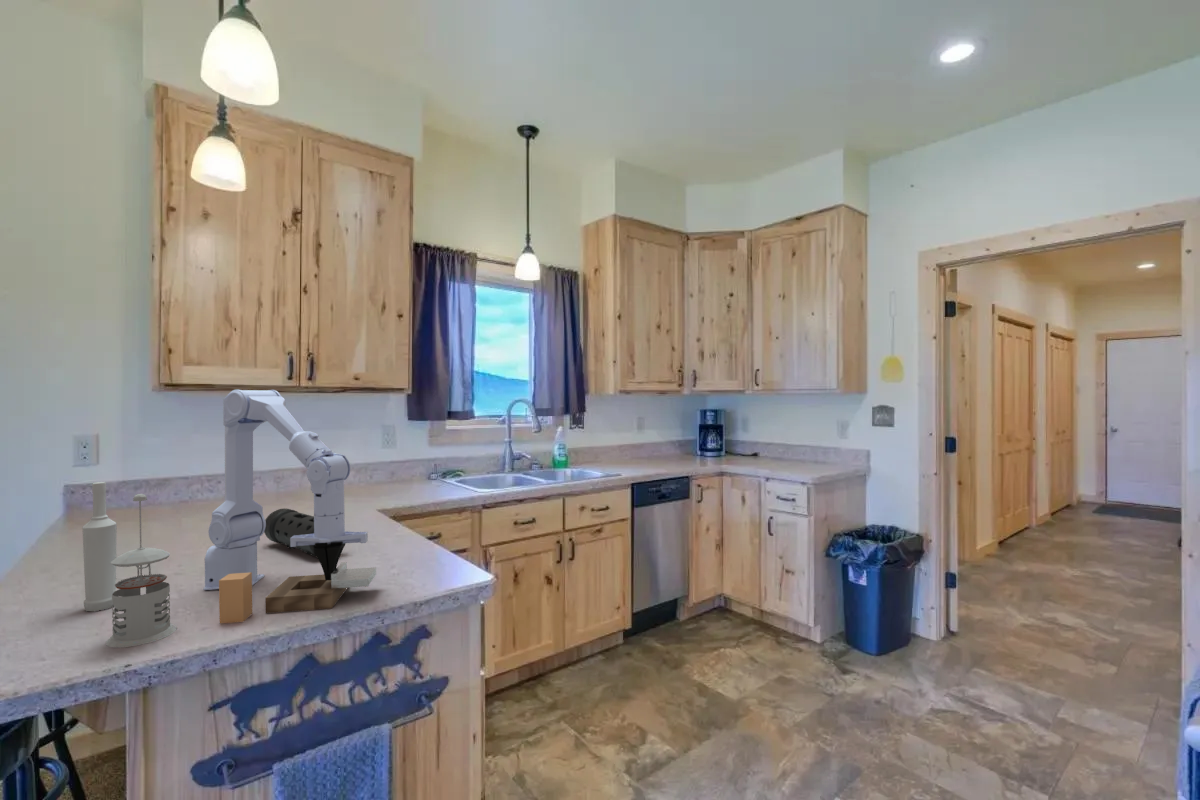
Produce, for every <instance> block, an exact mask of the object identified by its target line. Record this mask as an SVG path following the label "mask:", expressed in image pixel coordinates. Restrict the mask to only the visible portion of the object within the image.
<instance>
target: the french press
mask: <svg viewBox="0 0 1200 800" xmlns="http://www.w3.org/2000/svg"><path fill="white" fill-rule="evenodd" d="M147 500H148V497H147V495H146V494H144V493H138V494H135V495H134V496H133V498H132V501H133V502H138V503H139V505H138V508H139V512H138V513H139V514H138V515H139V547H138V548H136V549H130V550H128V551H126V552H124V553H122V554H120V555H118V556H116V558H115V559H114V560H113V561H111V563H112V564H113V565H114V566H116V567H119V568H121V567H122V568H127V567H135V568H136V569H137V576H136V575H135V576H132V577H127V578H124V579H121V580H120V581H118V582H116V584H115V587H116V591H115V592H114V593H113V594H112V603H113V605H112V608H111V610H112V612H111V613H112V614H111V615H112V616H111V617H112V621H111V622H112V623H111V624H112V634H111V636H110V637H109V638H108V639H107V640H106V641H105V642H106V643H105V644H107V645H106V646H107V647H110V648H128V647H129V648H130V647H136V646H142V645H145V644H150V643H153V642H156V641H158V640H161V639H164V638H168V637H169V636H170V635H172V634H173V633H175V632H176V630H177V629H178V628H177V626H176V625H175V624H173V623H172V622H171V615H170V614H171V608H170V607H171V601H170V597H171V595H170V592H171V589H170V588H171V587H170V583H169V582H166V581H165V580H167V578H168V576H167V575H166V574H162V573H152V572H151V568H152V567H151V564H155V563H158V562H162V561H164V560H167V559H168V558H169V557H170V555H171V553H170V552H169V551H167V550H164V549H162V548H155V547H142V545H143V543H142V502H143V501H147ZM143 565H146V566H143ZM147 568H148V574H144V575H143V569H147ZM142 588H143V589H144V588H145V593H144V594H141V589H142ZM118 612H123V613H118ZM119 619H123V620H120V621H119Z"/></svg>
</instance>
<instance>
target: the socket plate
mask: <svg viewBox="0 0 1200 800" xmlns="http://www.w3.org/2000/svg"><path fill="white" fill-rule="evenodd" d="M345 590H346V591H347V589H346V588H335V589H331V580H325V575H324V573H323V574H312V575H296V576H295V575H294V576H289V577H287V578H286V579H285V580H284V581H282V582H281V583H280V584H279V585H278V586H277V587H276V588H275V589H274V590H272V591H271V592H270V593H269V594H268V595H267V596H266V597H265V605H264V606H265V607H264V608H265V614H274V613H287V612H300V611H301V610H303V611H312V610H313V611H314V610H326V609H327V610H328V609H329V610H330V609H333V608H334V606H335V605H336V604H337V603H338V601H339V600H340V599H341V597H342V596H343V595H342V594H344V593H345V592H346V591H345ZM344 591H345V592H344ZM343 592H344V593H343ZM341 595H342V596H341ZM340 596H341V597H340ZM338 599H339V600H338ZM335 603H336V604H335ZM301 612H302V611H301Z"/></svg>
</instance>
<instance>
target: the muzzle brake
mask: <svg viewBox="0 0 1200 800" xmlns="http://www.w3.org/2000/svg"><path fill="white" fill-rule="evenodd" d="M265 521H266V527H265V531H264V533H263V534H264V535H265V537H266V538H267V539H269V541H271V542H273V543H277V544H279V545H280V544H281V545H285V548H287V547H289V548H288V549H290V548H294V549H297V550H301V552H302V553H306V554H308V555H310V556H312V557H316V555H315V554H314V551H313V549H314V548H315V545H304V546H296V547H290V538H291V537H292V536H294V535H305V534H314V515H313V516H312V515H309V514H305V513H303V512H299V511H297V510H294V509H291V508H285V507H284V508H278V509H275V510H274V511H272V512H271V513H269V515H267V516H266V518H265Z"/></svg>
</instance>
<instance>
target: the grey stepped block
mask: <svg viewBox="0 0 1200 800" xmlns="http://www.w3.org/2000/svg"><path fill="white" fill-rule="evenodd" d="M347 567H348V565H347V561H343V562H340V564H339V565H337V567H336V569H335V570H334V571H333V572H332V574H331V589H335V588H347V589H348V588H363V587H369V586H370V584H371V582H372V581H373V579H375V577H376V575H377V567H376V566H373V567H371V566H370V567H357V568H355V567H354V568H347Z"/></svg>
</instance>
